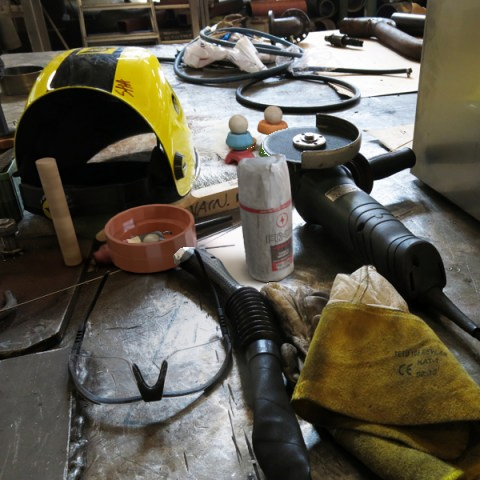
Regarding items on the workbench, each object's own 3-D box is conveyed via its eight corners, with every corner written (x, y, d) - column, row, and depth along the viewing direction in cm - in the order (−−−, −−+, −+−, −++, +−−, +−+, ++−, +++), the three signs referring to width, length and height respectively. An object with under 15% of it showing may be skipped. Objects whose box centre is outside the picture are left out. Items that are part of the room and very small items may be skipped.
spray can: (250, 288, 75) (243, 170, 65) (238, 261, 82) (230, 149, 72) (301, 278, 78) (302, 163, 68) (285, 252, 84) (284, 144, 74)
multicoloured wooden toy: (241, 140, 135) (239, 95, 128) (294, 151, 128) (294, 104, 121) (199, 159, 121) (194, 110, 114) (255, 174, 114) (253, 122, 108)
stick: (62, 261, 80) (32, 160, 71) (78, 255, 82) (51, 156, 73) (69, 268, 79) (39, 165, 69) (85, 262, 80) (57, 161, 71)
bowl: (94, 257, 81) (86, 226, 78) (161, 225, 92) (156, 197, 89) (148, 287, 75) (142, 255, 72) (214, 249, 85) (211, 219, 82)
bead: (150, 228, 83) (136, 237, 81) (162, 232, 81) (149, 242, 79) (155, 242, 84) (141, 251, 82) (167, 247, 83) (154, 256, 81)
